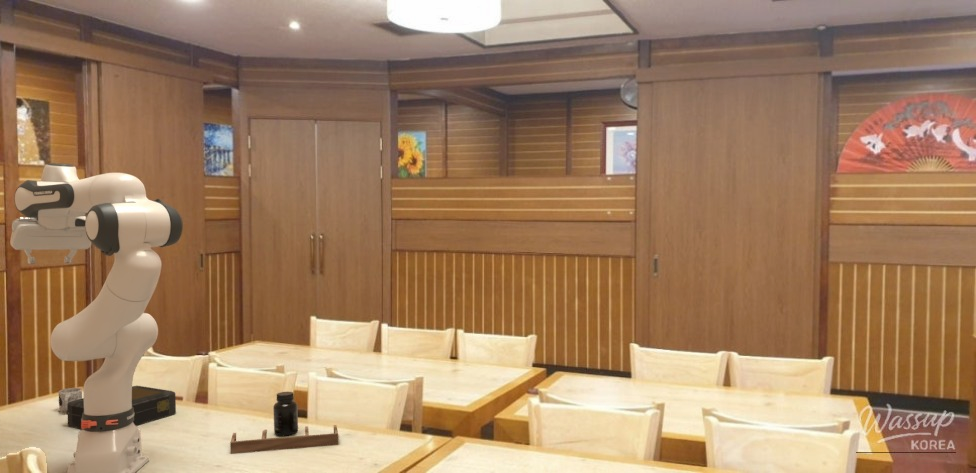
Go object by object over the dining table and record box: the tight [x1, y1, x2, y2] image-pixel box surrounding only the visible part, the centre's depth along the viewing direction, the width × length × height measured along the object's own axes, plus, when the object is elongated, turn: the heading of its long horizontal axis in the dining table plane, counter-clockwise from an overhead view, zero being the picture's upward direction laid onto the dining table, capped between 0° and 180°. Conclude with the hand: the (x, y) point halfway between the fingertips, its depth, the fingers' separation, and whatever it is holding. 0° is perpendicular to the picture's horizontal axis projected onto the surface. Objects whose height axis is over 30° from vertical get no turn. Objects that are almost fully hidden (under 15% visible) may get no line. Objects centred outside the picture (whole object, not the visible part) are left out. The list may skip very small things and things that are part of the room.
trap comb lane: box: [229, 424, 339, 455], centre depth 211 cm, size 18×29×3 cm, turn 105°
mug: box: [58, 387, 83, 414], centre depth 241 cm, size 10×7×7 cm
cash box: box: [67, 385, 177, 430], centre depth 231 cm, size 25×20×8 cm
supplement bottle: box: [273, 391, 299, 437], centre depth 216 cm, size 7×7×12 cm
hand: (49, 262), depth 213 cm, fingers open, 8 cm apart
